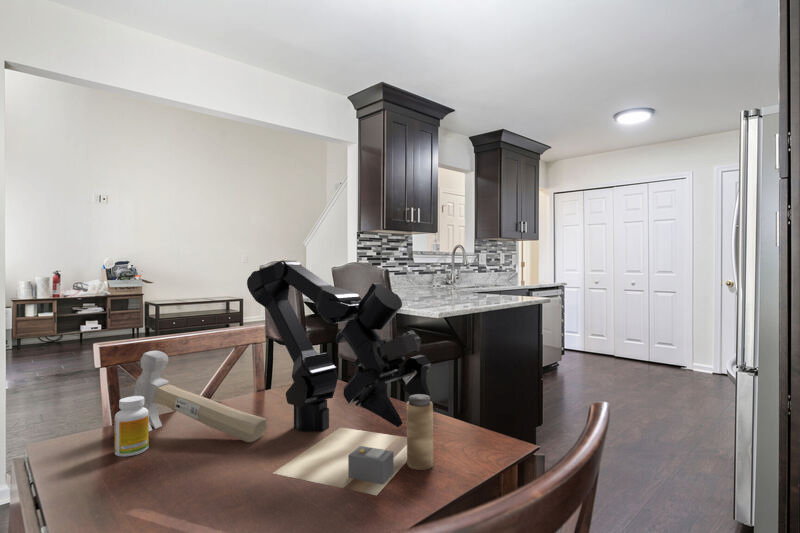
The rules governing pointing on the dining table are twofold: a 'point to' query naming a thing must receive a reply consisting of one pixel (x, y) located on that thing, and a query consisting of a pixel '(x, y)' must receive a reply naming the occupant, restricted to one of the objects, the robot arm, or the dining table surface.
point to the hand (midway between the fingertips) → (417, 417)
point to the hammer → (191, 403)
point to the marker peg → (419, 432)
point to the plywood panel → (343, 459)
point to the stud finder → (370, 464)
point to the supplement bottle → (131, 427)
